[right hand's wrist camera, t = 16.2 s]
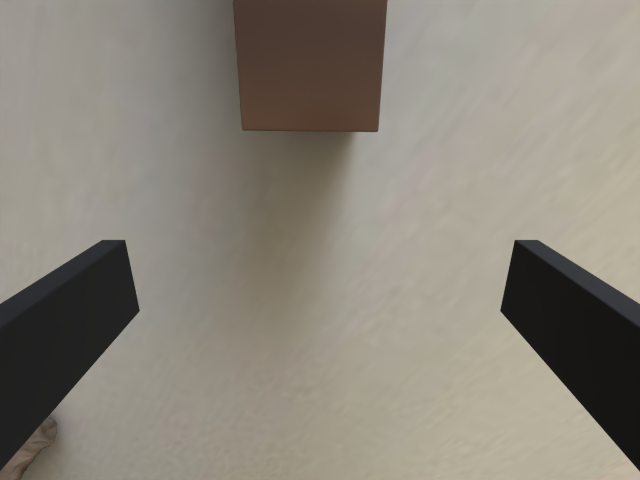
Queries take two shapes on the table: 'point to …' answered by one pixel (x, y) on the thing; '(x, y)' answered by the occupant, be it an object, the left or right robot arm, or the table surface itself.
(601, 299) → the right robot arm
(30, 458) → the stone
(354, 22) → the walnut plank
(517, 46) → the table surface
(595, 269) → the table surface
